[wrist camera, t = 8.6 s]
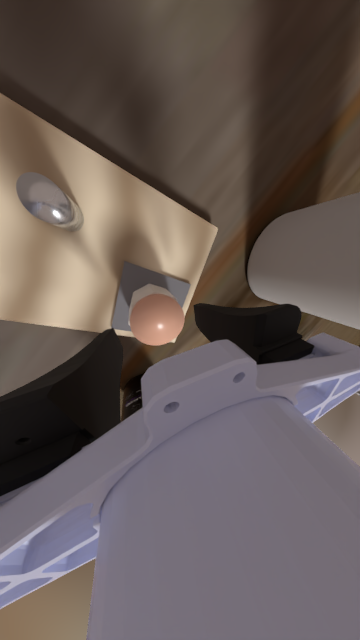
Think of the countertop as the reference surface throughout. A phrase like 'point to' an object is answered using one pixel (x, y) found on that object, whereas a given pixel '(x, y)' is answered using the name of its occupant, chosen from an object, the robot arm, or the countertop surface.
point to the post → (48, 202)
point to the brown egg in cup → (155, 315)
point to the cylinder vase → (312, 260)
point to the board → (84, 230)
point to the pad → (135, 280)
